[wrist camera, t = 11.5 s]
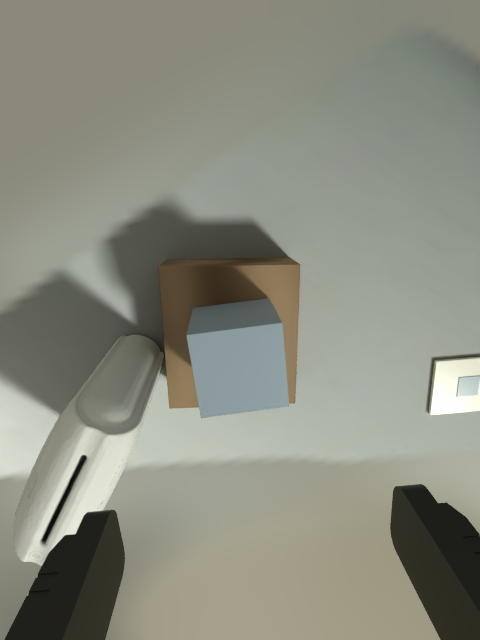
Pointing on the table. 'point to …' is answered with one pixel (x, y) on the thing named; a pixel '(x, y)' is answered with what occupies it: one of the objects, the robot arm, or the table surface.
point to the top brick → (238, 357)
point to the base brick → (222, 288)
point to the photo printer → (87, 447)
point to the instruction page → (455, 386)
